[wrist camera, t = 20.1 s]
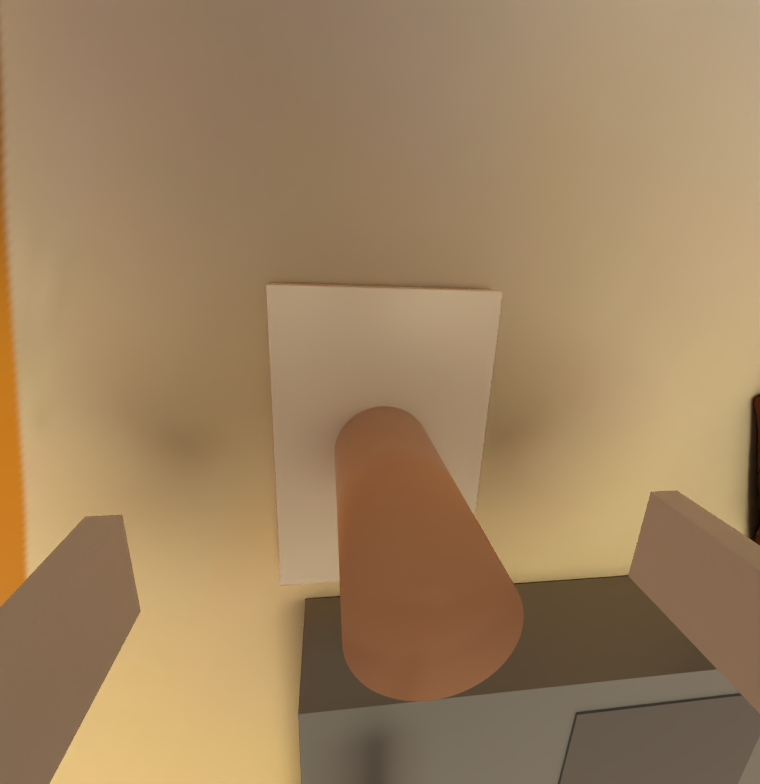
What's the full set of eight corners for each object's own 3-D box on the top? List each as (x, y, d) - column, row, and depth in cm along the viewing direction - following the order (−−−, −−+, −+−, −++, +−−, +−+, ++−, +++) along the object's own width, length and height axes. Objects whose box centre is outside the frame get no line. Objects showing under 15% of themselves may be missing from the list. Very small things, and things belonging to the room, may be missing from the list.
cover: (271, 282, 15) (183, 318, 6) (486, 288, 16) (704, 328, 7) (284, 560, 18) (242, 852, 9) (457, 550, 19) (571, 804, 10)
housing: (305, 599, 19) (297, 720, 14) (712, 569, 21) (827, 662, 16) (312, 819, 24) (308, 966, 19) (642, 772, 26) (715, 890, 21)
